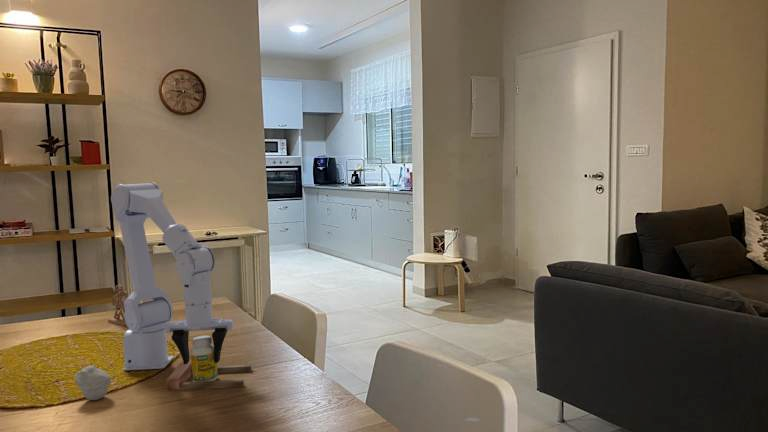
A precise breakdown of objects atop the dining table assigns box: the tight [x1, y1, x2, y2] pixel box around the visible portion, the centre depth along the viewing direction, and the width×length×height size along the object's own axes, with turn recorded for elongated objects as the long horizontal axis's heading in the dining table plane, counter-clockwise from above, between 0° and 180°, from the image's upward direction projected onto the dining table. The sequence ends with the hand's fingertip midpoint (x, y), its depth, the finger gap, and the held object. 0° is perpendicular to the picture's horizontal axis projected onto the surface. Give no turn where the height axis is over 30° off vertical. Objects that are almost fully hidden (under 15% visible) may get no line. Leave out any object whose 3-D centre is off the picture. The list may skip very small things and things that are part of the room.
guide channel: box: [166, 361, 252, 391], centre depth 129 cm, size 16×10×2 cm, turn 93°
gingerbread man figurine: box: [107, 284, 129, 327], centre depth 178 cm, size 9×4×12 cm, turn 56°
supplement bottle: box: [190, 335, 219, 382], centre depth 129 cm, size 5×5×10 cm
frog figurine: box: [74, 365, 112, 401], centre depth 120 cm, size 6×7×7 cm
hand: (201, 362), depth 129 cm, fingers open, 6 cm apart
